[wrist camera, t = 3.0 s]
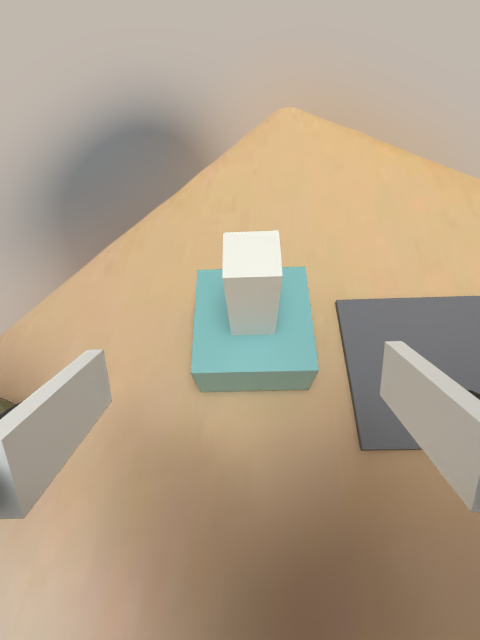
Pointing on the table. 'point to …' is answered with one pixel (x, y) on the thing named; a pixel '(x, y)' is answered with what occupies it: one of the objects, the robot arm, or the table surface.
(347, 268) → the table surface
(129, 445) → the table surface
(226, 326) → the cover
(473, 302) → the mat
